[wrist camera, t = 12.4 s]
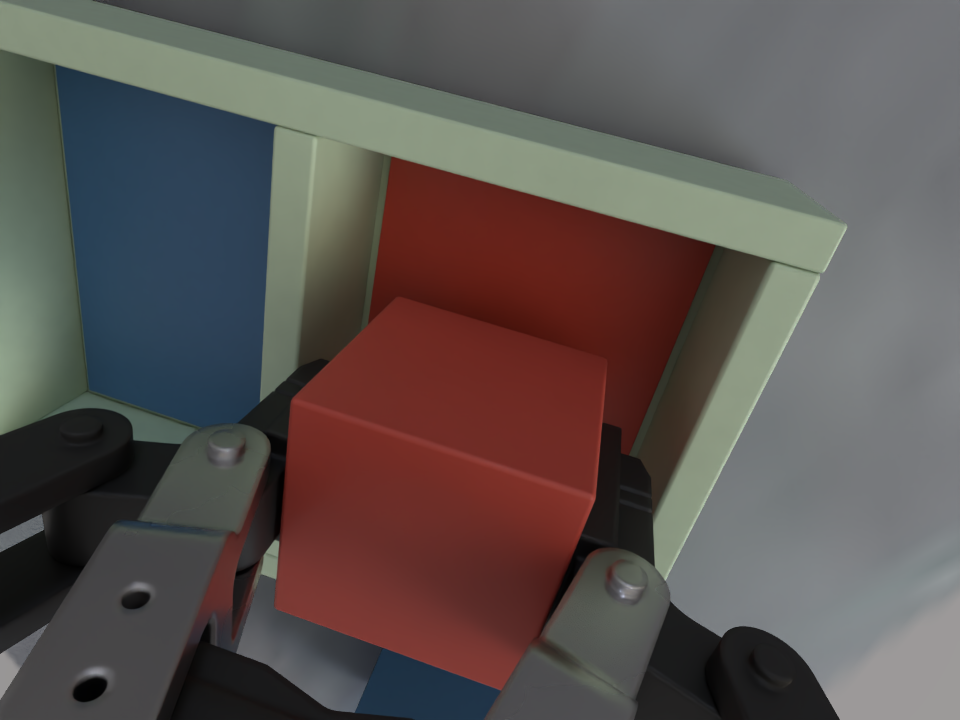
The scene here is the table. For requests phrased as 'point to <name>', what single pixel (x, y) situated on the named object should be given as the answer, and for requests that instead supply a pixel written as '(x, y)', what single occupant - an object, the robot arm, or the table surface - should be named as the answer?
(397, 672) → the blue block
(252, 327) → the sorting tray
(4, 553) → the robot arm
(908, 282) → the table surface
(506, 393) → the red block
